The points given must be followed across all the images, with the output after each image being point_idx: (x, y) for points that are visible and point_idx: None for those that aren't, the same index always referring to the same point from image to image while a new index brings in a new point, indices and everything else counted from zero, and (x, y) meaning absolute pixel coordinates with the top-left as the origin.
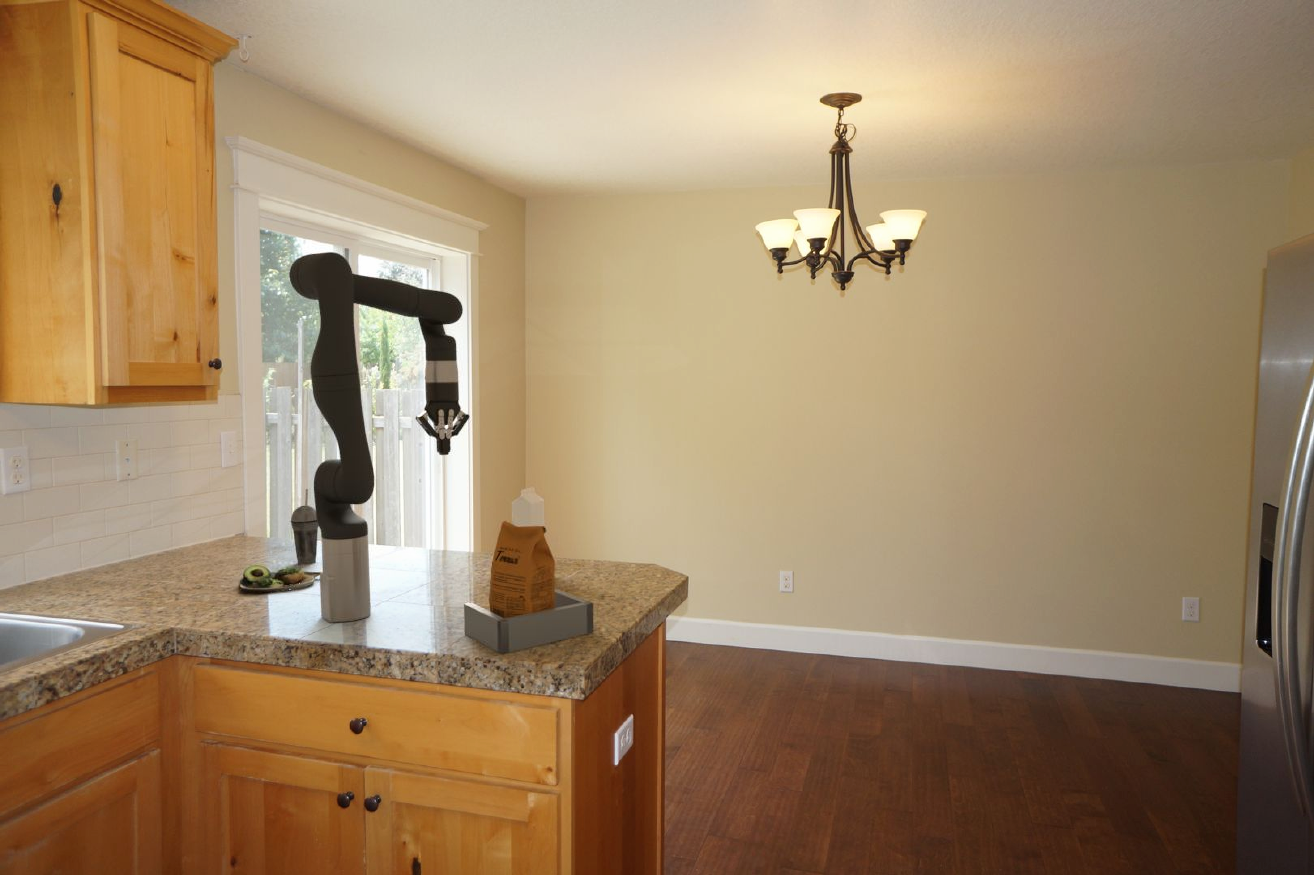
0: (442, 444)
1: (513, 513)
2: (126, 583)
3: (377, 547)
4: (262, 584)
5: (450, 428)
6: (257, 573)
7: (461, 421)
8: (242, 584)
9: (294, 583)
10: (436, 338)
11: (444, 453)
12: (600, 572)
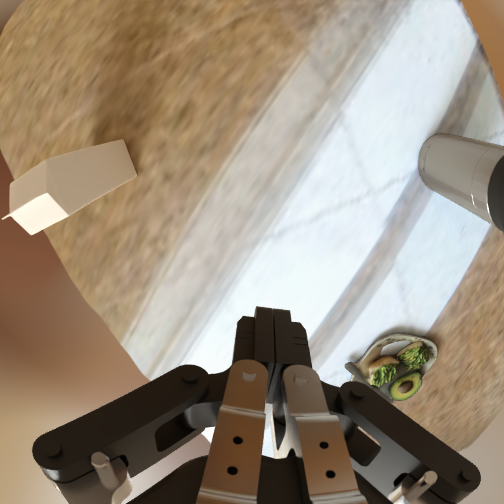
0: (293, 344)
1: (80, 202)
2: (443, 429)
3: (208, 434)
4: (427, 350)
5: (236, 409)
6: (409, 383)
7: (116, 437)
8: (422, 373)
9: (383, 356)
10: None
11: (281, 309)
12: (38, 106)
